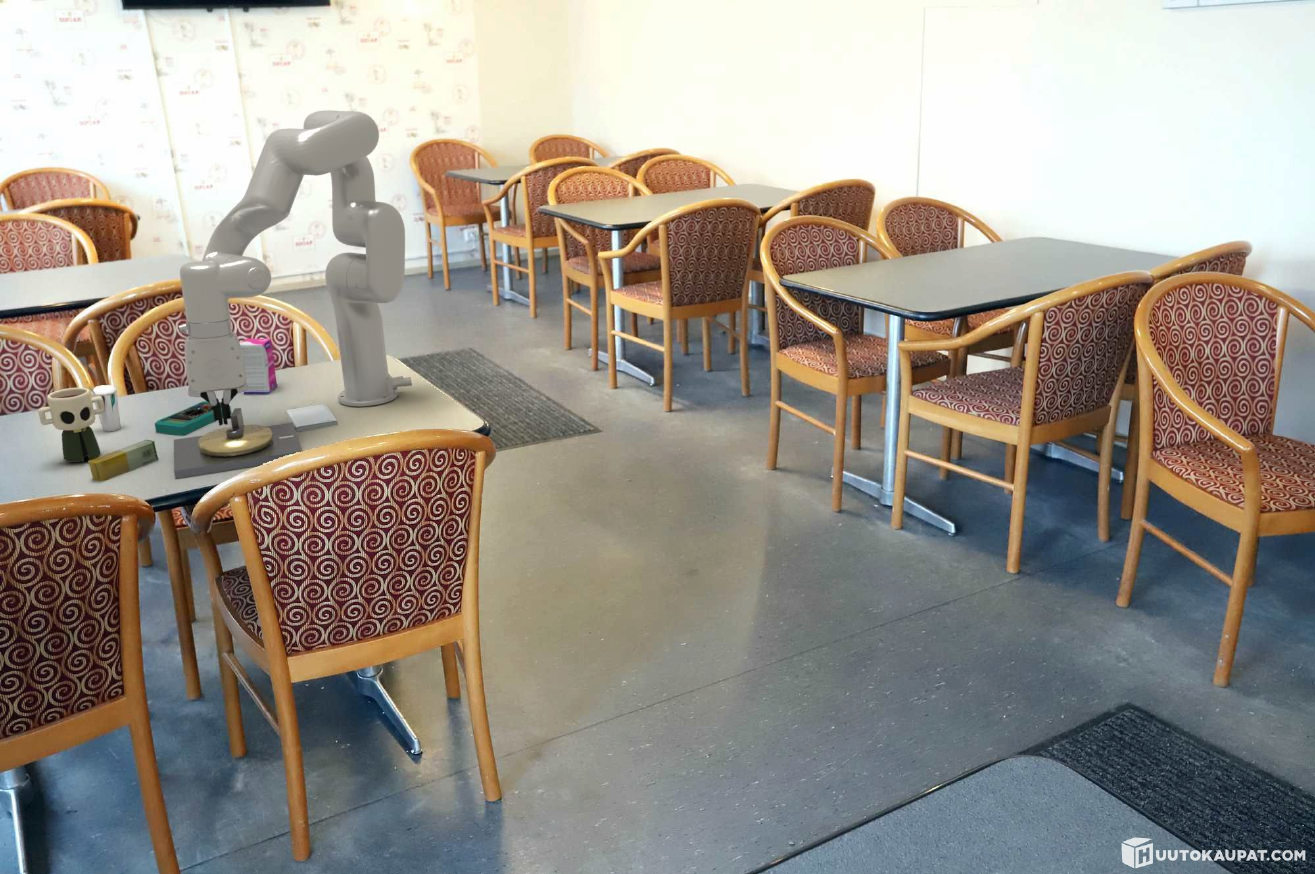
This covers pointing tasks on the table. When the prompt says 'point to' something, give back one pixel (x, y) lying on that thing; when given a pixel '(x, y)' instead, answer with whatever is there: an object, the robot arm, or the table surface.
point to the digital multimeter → (187, 420)
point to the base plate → (198, 463)
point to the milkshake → (108, 407)
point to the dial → (235, 438)
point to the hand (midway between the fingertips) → (223, 422)
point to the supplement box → (259, 365)
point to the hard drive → (311, 417)
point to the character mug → (74, 421)
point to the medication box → (123, 460)
